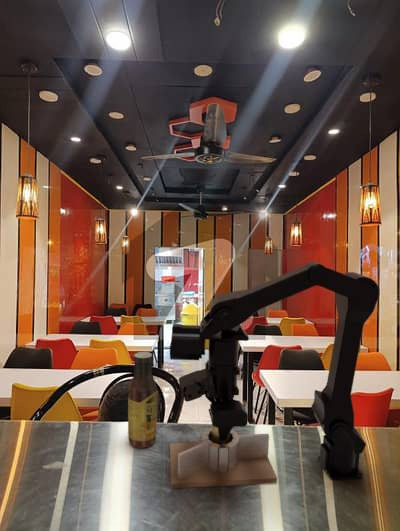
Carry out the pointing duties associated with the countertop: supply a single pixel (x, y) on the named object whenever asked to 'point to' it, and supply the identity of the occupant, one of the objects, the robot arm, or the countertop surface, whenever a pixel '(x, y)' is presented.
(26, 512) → the countertop surface
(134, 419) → the sauce bottle
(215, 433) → the hinge pin
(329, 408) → the robot arm
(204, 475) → the walnut board
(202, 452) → the hinge
